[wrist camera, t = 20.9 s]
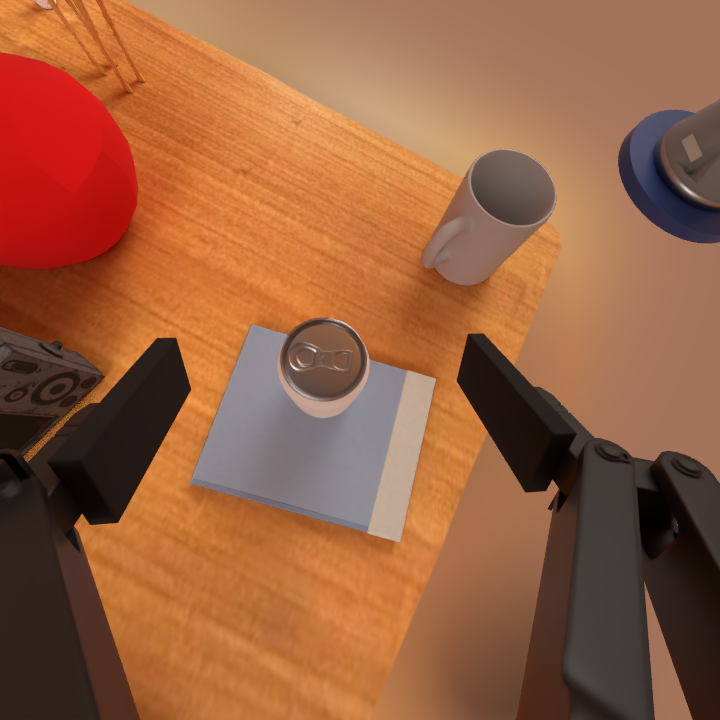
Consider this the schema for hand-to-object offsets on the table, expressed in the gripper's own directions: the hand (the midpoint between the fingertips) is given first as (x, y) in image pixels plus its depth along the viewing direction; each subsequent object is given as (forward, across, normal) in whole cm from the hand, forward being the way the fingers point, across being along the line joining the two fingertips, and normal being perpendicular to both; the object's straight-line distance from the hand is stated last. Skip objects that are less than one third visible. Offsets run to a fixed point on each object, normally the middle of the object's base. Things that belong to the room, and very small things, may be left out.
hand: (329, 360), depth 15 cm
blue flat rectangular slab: (+12, -1, -15) cm, 19 cm away
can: (+14, 0, -12) cm, 18 cm away
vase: (+28, -26, +1) cm, 39 cm away
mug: (+25, +15, -2) cm, 29 cm away
